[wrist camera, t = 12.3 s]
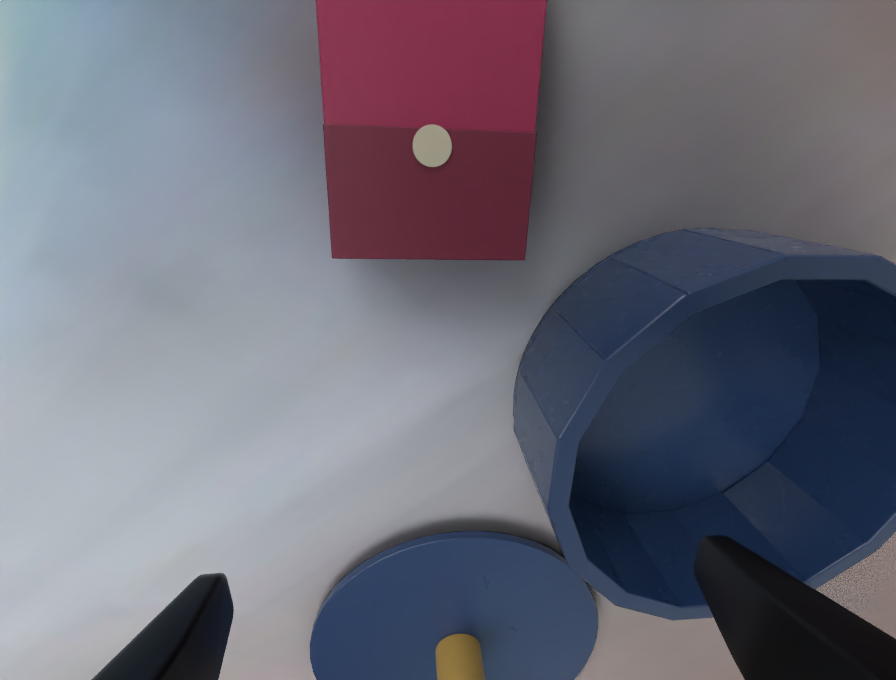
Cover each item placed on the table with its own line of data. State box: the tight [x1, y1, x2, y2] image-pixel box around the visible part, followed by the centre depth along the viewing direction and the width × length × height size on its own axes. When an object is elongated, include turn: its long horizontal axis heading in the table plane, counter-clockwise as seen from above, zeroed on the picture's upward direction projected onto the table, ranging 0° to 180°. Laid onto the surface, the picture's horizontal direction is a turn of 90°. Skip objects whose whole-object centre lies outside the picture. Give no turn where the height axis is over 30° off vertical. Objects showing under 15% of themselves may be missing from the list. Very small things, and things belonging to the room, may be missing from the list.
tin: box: [513, 228, 896, 620], centre depth 19 cm, size 16×16×6 cm
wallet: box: [316, 0, 547, 260], centre depth 15 cm, size 10×6×4 cm, turn 178°
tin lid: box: [310, 531, 598, 680], centre depth 24 cm, size 17×17×5 cm
